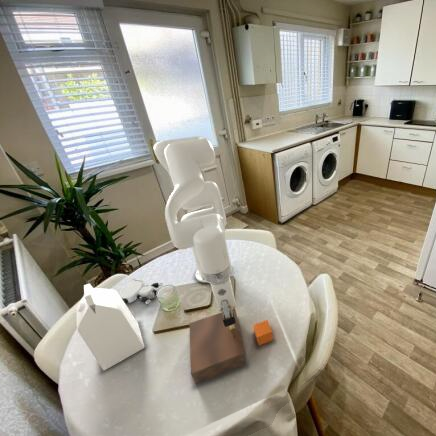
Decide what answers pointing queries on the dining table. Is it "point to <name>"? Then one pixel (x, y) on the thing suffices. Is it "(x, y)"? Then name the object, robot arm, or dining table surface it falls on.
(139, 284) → the robot toy
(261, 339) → the orange cube
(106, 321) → the milk
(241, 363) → the chest
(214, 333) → the chest lid
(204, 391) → the dining table surface
